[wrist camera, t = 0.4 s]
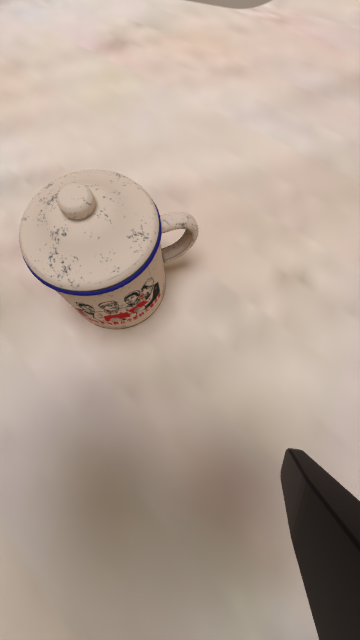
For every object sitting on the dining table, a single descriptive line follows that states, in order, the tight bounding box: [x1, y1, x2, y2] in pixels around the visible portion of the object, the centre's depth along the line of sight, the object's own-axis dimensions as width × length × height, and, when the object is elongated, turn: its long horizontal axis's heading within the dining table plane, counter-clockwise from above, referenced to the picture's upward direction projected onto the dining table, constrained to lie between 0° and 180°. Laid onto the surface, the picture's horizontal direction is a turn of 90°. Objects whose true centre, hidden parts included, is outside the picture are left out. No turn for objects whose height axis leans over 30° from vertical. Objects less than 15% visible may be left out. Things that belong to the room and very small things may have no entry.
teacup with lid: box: [19, 170, 198, 329], centre depth 21 cm, size 12×9×12 cm
